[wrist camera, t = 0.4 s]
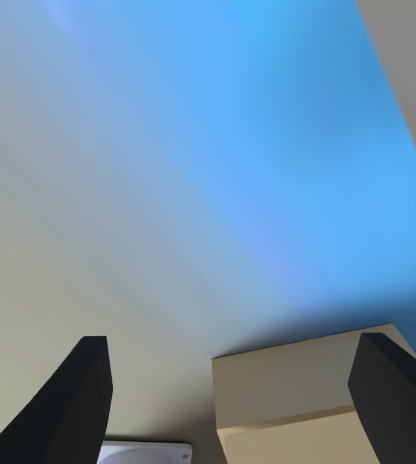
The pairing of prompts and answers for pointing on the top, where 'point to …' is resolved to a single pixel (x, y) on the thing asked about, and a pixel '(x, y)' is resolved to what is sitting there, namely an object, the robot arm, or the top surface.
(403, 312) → the top surface
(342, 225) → the top surface
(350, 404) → the carton
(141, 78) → the top surface
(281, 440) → the flap
